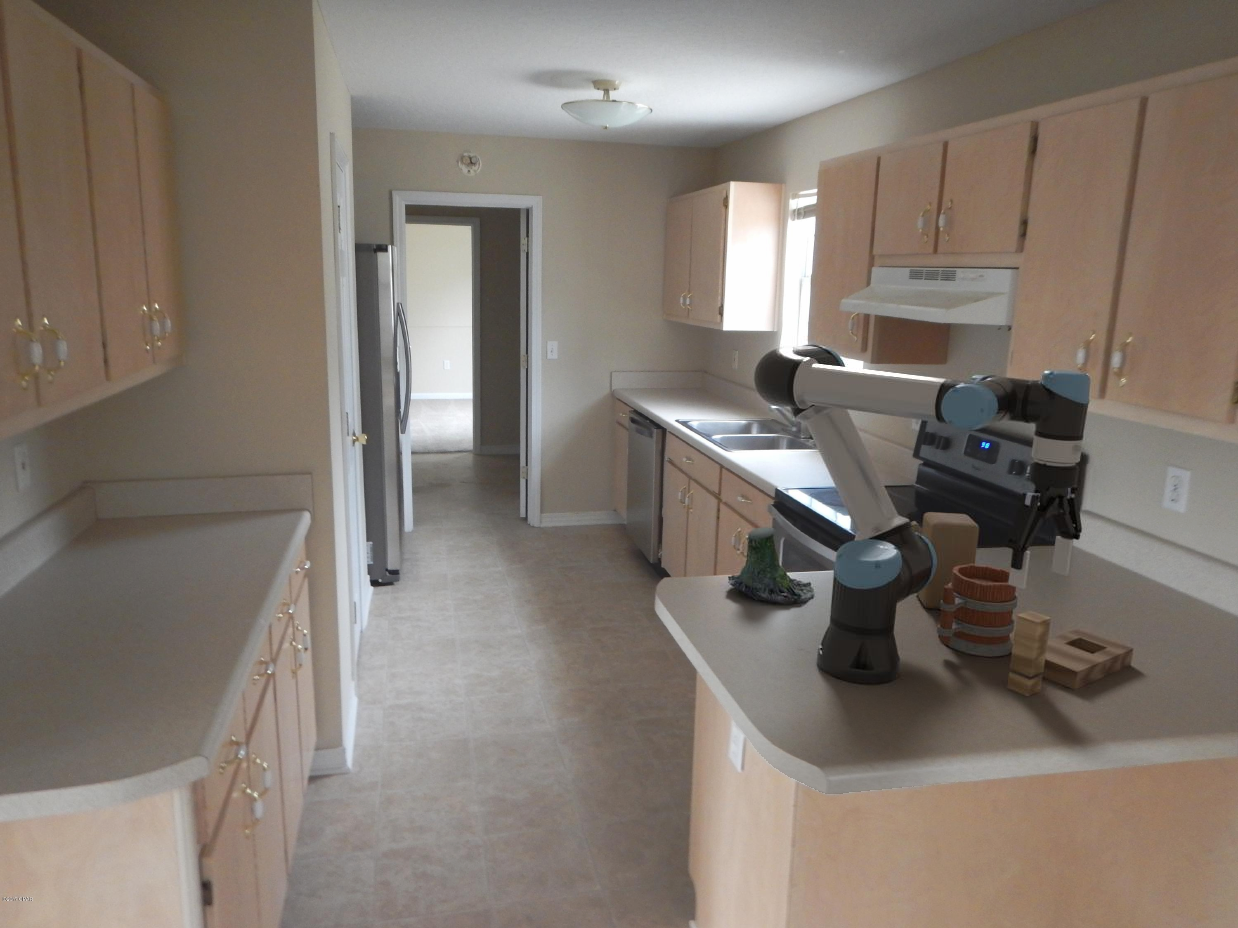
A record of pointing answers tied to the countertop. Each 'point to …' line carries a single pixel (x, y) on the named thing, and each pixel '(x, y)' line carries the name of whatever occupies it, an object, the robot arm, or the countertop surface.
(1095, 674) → the board
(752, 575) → the tree stump
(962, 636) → the mug
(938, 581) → the wooden block
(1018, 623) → the peg
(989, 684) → the countertop surface
